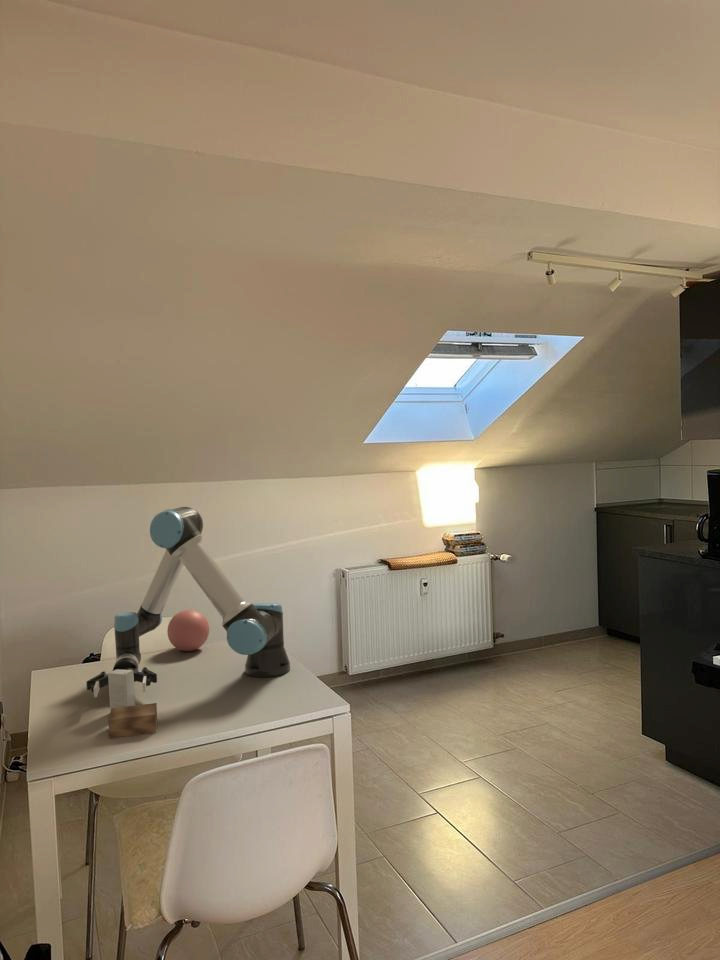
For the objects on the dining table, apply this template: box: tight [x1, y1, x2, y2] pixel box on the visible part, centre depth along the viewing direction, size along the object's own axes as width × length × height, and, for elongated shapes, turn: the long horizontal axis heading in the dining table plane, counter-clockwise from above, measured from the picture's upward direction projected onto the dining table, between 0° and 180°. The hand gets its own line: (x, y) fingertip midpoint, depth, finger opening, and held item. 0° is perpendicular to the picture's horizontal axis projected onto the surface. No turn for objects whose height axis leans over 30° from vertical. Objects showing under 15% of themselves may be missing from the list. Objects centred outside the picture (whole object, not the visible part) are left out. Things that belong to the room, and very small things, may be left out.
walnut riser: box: [108, 702, 158, 739], centre depth 198 cm, size 12×9×5 cm
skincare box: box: [107, 669, 136, 713], centre depth 211 cm, size 6×4×12 cm
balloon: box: [166, 609, 210, 652], centre depth 276 cm, size 15×20×15 cm
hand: (119, 690), depth 211 cm, fingers open, 13 cm apart
